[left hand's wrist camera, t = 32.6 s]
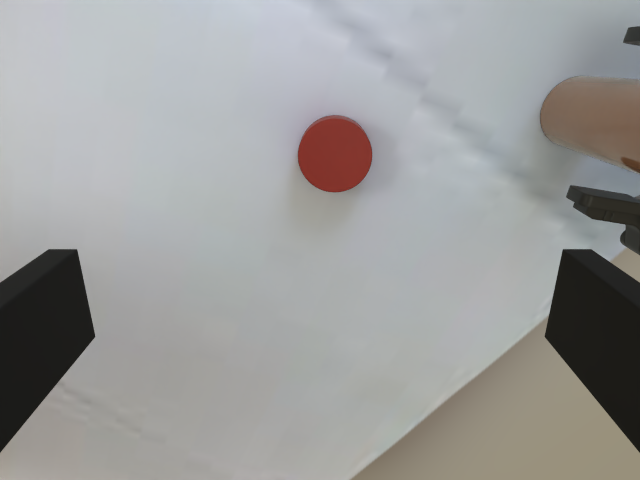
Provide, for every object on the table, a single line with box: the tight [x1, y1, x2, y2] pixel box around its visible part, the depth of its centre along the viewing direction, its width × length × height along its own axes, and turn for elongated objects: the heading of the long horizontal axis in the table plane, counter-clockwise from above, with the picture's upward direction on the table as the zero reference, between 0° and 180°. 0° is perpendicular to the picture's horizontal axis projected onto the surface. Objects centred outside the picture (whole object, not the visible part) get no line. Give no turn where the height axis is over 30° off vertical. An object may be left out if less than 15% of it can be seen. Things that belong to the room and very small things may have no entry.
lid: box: [298, 115, 372, 192], centre depth 31 cm, size 5×5×2 cm
